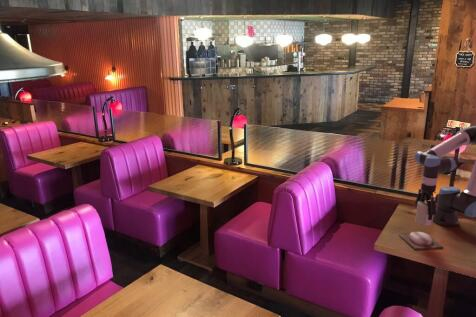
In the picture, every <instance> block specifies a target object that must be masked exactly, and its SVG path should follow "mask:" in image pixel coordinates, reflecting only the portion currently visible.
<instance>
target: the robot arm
mask: <svg viewBox="0 0 476 317" xmlns="http://www.w3.org/2000/svg"><path fill="white" fill-rule="evenodd" d="M470 144H471V145H472V144H475V145H476V125H471V126H468V127H465V128H462V129H460V130H458V131H457V132H456V133H455V134H454V135H453V136H451V137H449V138H447V139H445V140H444V141H441V142H440V143H439V144H437V145H434V146H433V147H431V148H429V149H428V150H426V151H423V150H422V151H421V150H420V151H416V153H415V154H414V162H415V163H416V164H419V165H421V166H423V173H422V178H421V184H420V188H419V189H418V192H417V196H416V200H415V201H414V204H415V205H417V204H418V201H420V202H424V201H426V202H427V206H428V214H427V217H426V224H425V225H430V226H432V225H431V220H432V215H433V221H432V223H433V222H434V223H435V224H437V225H440V226H444V227H455V226H457V225H458V224H459V218H458V213H460V214H463V215H465V216H466V217H471V218H476V160H475V161H474V164H473V167H472V170H471V172H470V176H469V178H468V180H467V185H466V187H465V188H464V189H463V190H461V189H460V188H459V187H456V186H442V187H440V188H439V191H438V193H437V194H438V196H434V193H435V192H436V189H437V185H438V179H439V173H446V172H451V171H453V170H455V169H456V166H457V164H456V160H455V159H454V158H452V157H445V156H446V155H449V154H450V153H452V152H453V151H456V150H457V149H459V148H461V147H462V146H463V147H464V146H468V145H470ZM457 212H458V213H457Z"/></svg>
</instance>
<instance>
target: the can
mask: <svg viewBox="0 0 476 317" xmlns="http://www.w3.org/2000/svg"><path fill="white" fill-rule="evenodd" d="M427 214H428V206H427V202H426V200H425V201H424V202H420V201H418V204H416V211H415V219H414V222H415V224H417V225H420V226H425V227H429V226H432V225H433V215H432V220H431V225H425V224H426V217H427Z"/></svg>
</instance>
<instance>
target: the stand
mask: <svg viewBox="0 0 476 317" xmlns="http://www.w3.org/2000/svg"><path fill="white" fill-rule="evenodd" d="M398 236H399V237H400V239H402V240H403V241H404V242H405V243H406V244H407V245H408V246H410V248H412V250H414V251H420V250H421V251H422V250H424V251H425V250H437V249H444V246H443V245H442V244H441V243H439V242H438V241H437V240H435V239H434V238H433V237H432V235H430V234H428V233H427V232H422V231H412V232H410V233H402V234H401V233H400V234H399V235H398Z"/></svg>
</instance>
